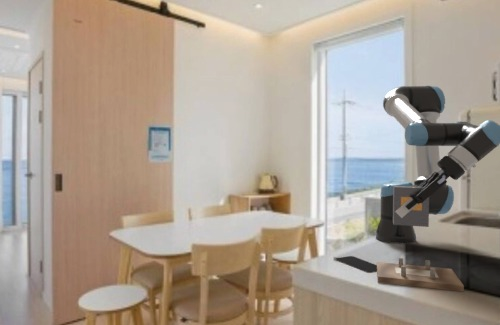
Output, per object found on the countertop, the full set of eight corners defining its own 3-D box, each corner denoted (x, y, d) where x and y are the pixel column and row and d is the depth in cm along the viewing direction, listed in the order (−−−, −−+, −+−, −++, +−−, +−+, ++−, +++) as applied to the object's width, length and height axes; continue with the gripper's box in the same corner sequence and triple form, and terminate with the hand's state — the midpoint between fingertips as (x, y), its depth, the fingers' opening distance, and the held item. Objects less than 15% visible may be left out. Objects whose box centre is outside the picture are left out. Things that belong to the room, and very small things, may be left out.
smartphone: (368, 272, 101) (334, 258, 115) (368, 274, 101) (334, 260, 115) (387, 268, 104) (351, 255, 118) (387, 271, 105) (351, 257, 118)
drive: (426, 223, 114) (426, 186, 114) (428, 226, 110) (429, 188, 109) (392, 221, 118) (393, 185, 117) (393, 224, 113) (394, 187, 112)
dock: (451, 274, 101) (451, 260, 101) (463, 291, 88) (463, 275, 88) (376, 266, 107) (376, 253, 107) (377, 282, 94) (377, 267, 94)
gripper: (474, 173, 100) (409, 227, 105) (458, 170, 117) (403, 217, 123) (453, 154, 101) (390, 208, 107) (441, 154, 118) (387, 201, 124)
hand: (397, 213), depth 115 cm, fingers closed on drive, 5 cm apart
